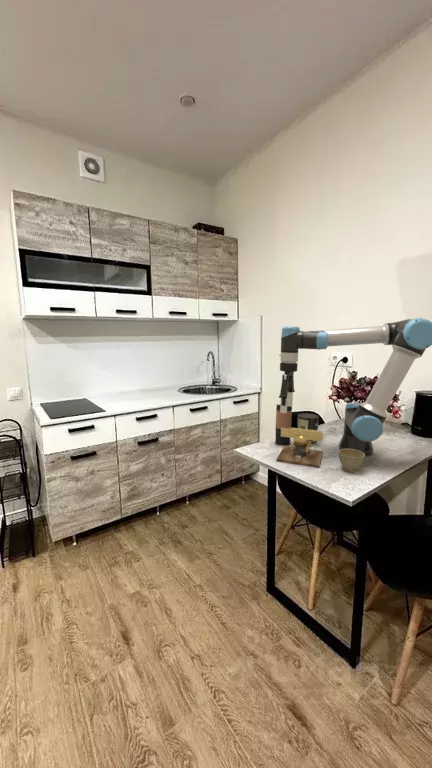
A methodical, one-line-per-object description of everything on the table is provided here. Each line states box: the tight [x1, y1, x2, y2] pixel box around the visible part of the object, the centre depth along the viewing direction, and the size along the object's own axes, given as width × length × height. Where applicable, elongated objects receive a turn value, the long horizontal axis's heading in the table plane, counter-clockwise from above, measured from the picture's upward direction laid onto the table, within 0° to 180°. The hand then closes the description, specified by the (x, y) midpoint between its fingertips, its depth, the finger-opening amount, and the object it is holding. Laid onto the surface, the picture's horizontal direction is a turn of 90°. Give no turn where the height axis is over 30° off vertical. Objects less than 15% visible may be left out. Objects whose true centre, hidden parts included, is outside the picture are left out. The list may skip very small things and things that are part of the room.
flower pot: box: [338, 449, 366, 473], centre depth 137 cm, size 10×10×7 cm
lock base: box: [275, 445, 324, 469], centre depth 149 cm, size 18×18×6 cm
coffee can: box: [297, 412, 320, 447], centre depth 169 cm, size 10×10×14 cm
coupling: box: [281, 426, 324, 452], centre depth 148 cm, size 18×8×9 cm, turn 67°
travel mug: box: [275, 403, 293, 447], centre depth 166 cm, size 8×8×20 cm
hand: (286, 409), depth 149 cm, fingers open, 13 cm apart
